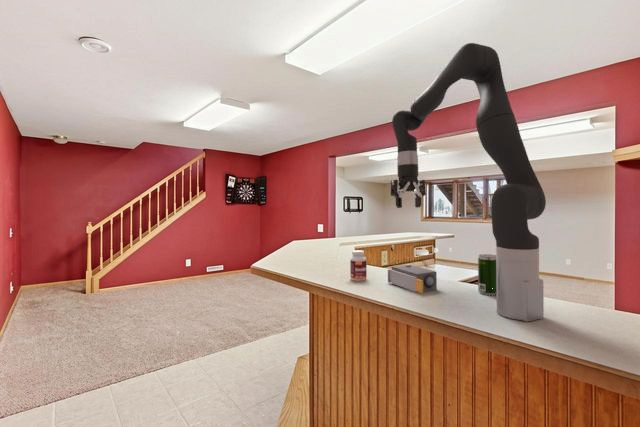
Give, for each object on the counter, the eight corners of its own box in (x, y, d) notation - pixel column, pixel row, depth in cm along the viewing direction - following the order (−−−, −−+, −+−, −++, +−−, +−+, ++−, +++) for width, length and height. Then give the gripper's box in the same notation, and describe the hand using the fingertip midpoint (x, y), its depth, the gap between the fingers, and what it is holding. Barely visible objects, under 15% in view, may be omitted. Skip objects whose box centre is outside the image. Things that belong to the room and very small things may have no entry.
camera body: (437, 289, 105) (437, 270, 105) (418, 292, 102) (418, 272, 102) (409, 280, 118) (409, 263, 118) (391, 282, 115) (391, 265, 115)
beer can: (491, 296, 96) (491, 257, 96) (474, 292, 101) (474, 255, 100) (500, 293, 99) (500, 255, 99) (484, 289, 104) (483, 253, 103)
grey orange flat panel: (423, 293, 99) (423, 279, 99) (419, 294, 99) (419, 279, 99) (390, 281, 116) (390, 269, 116) (387, 282, 115) (387, 269, 115)
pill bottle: (355, 282, 118) (354, 252, 118) (347, 278, 124) (347, 250, 123) (369, 280, 120) (369, 251, 120) (361, 277, 126) (361, 249, 126)
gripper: (397, 162, 112) (399, 207, 112) (429, 163, 118) (430, 207, 118) (385, 165, 119) (387, 208, 119) (416, 166, 125) (417, 207, 125)
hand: (408, 207), depth 119 cm, fingers open, 8 cm apart
